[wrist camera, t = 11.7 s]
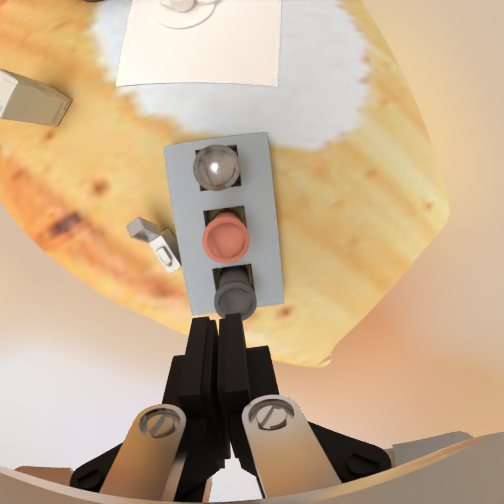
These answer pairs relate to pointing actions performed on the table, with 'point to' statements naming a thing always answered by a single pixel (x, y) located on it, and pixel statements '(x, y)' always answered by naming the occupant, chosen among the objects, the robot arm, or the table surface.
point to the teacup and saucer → (184, 4)
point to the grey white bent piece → (157, 242)
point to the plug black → (235, 293)
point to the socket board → (244, 194)
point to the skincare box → (30, 100)
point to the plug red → (226, 238)
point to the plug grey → (216, 167)
